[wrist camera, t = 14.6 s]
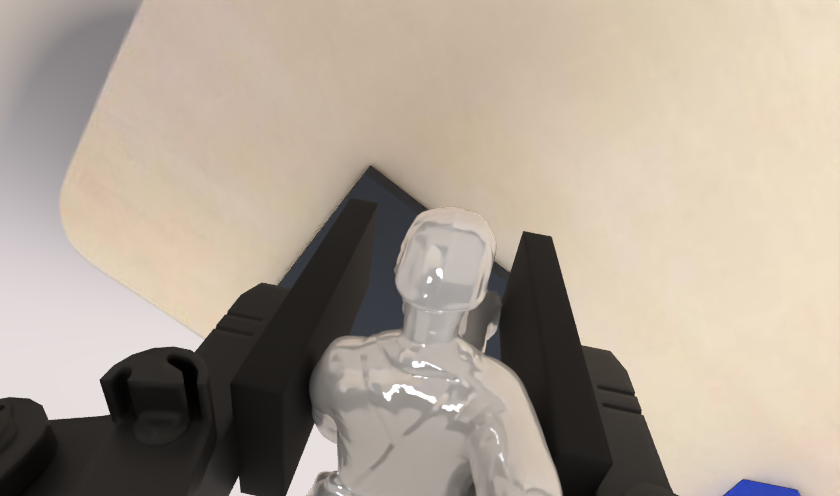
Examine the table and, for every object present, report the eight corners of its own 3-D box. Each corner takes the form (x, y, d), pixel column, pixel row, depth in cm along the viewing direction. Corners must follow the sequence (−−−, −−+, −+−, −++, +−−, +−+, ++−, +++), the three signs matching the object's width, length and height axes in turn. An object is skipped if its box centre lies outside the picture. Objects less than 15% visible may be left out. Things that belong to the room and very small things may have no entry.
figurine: (254, 884, 8) (188, 760, 2) (316, 438, 16) (345, 107, 9) (496, 858, 9) (1053, 703, 3) (445, 443, 17) (554, 140, 10)
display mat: (245, 327, 38) (237, 338, 37) (370, 165, 29) (365, 172, 28) (402, 425, 42) (400, 439, 40) (554, 308, 33) (557, 321, 32)
